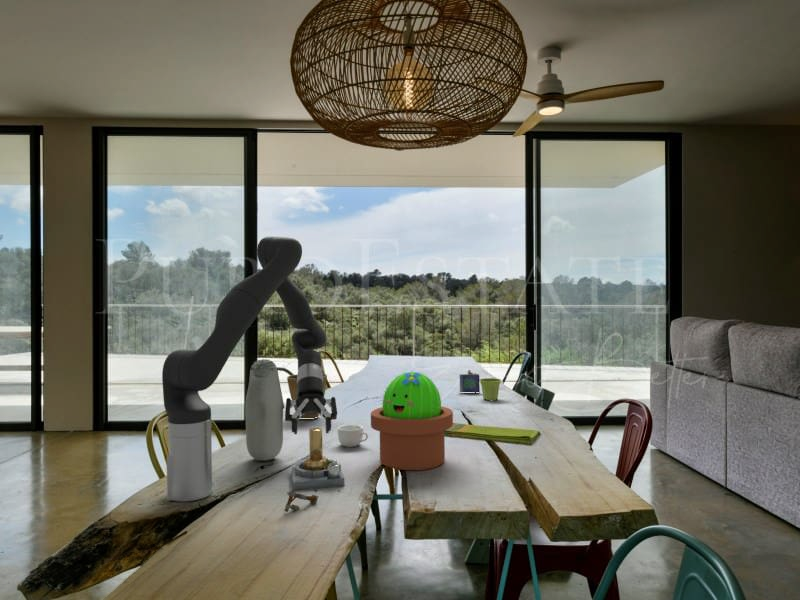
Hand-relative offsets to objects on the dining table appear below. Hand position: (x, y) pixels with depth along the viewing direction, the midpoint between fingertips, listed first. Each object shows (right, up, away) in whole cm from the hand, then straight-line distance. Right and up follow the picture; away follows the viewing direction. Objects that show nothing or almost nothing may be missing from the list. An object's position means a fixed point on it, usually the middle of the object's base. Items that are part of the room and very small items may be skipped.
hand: (311, 432), depth 148 cm
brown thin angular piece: (+3, -9, -31) cm, 33 cm away
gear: (+3, -7, -11) cm, 13 cm away
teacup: (+10, -9, +18) cm, 22 cm away
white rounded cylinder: (-14, -9, +4) cm, 17 cm away
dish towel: (+50, -9, +30) cm, 60 cm away
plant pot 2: (+63, -8, +89) cm, 110 cm away
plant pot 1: (-11, -9, +57) cm, 59 cm away
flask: (+57, -8, +106) cm, 121 cm away
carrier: (+4, -8, -13) cm, 16 cm away
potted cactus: (+27, -8, +1) cm, 29 cm away
